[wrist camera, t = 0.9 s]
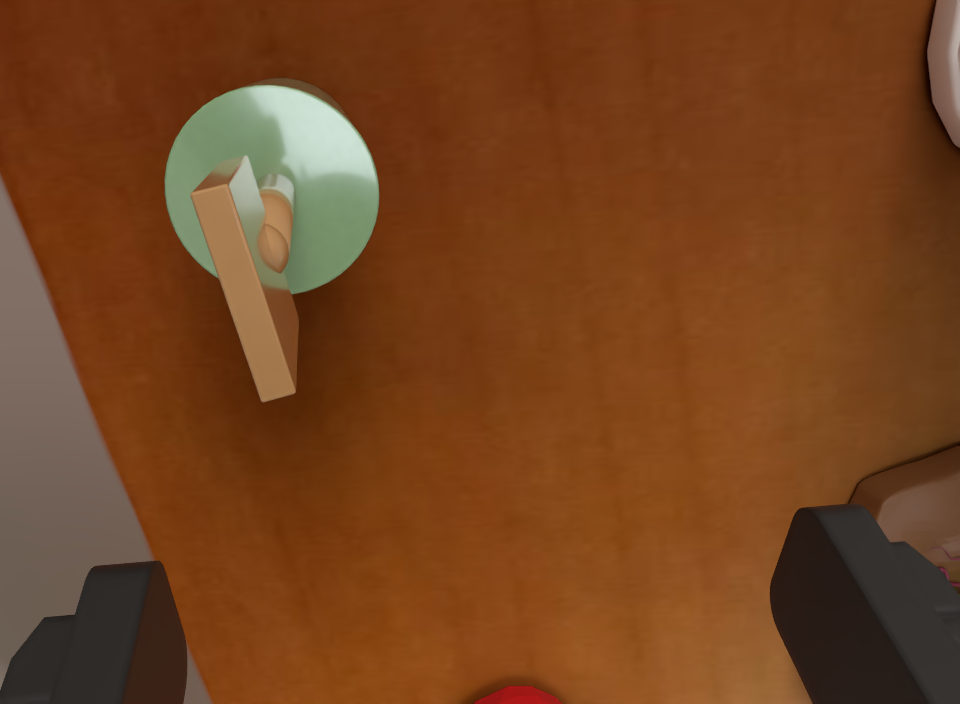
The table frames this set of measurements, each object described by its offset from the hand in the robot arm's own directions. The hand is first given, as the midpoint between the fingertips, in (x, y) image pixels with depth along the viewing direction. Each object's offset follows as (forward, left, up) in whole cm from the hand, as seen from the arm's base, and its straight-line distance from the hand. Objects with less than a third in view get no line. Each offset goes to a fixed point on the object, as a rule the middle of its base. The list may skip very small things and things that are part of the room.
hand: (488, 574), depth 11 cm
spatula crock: (-3, -2, -28) cm, 28 cm away
